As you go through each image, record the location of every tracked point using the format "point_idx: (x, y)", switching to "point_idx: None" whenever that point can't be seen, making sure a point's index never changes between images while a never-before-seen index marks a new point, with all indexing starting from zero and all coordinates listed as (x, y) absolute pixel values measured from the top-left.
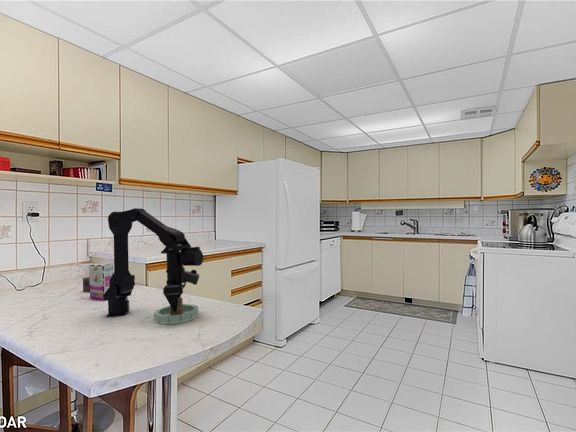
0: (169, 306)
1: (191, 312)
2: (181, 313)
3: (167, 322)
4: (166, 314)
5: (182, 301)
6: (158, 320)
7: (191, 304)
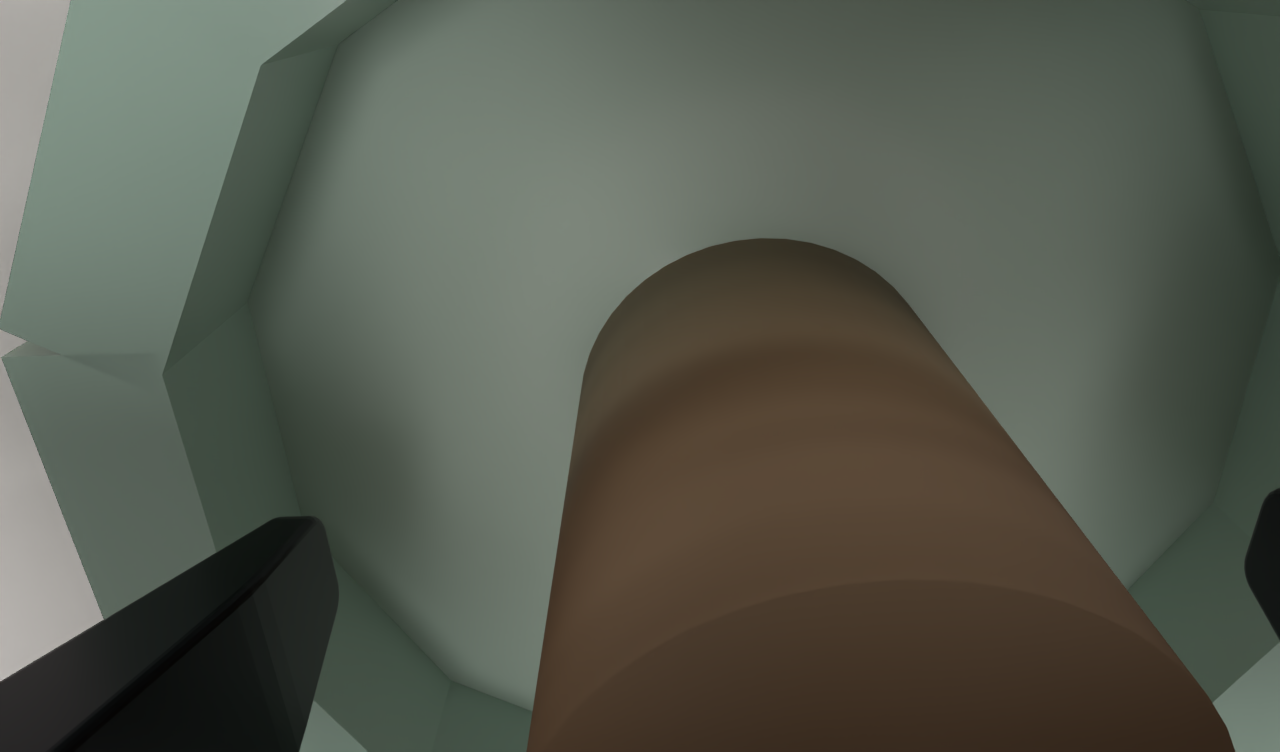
0: None
1: None
2: (892, 292)
3: None
4: None
5: (862, 464)
6: None
7: (79, 7)
